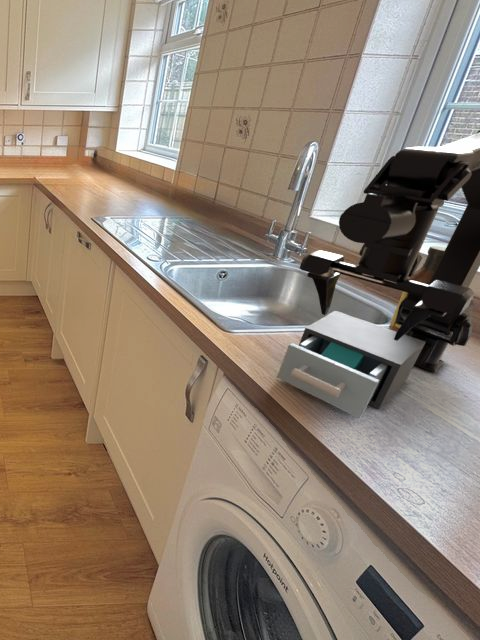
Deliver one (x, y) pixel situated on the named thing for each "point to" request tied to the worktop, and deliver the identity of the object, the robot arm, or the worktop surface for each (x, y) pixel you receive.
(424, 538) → the worktop surface
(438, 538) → the worktop surface
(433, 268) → the sauce bottle
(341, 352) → the teal cube white top
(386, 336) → the grey drawer box
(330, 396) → the dispenser drawer
